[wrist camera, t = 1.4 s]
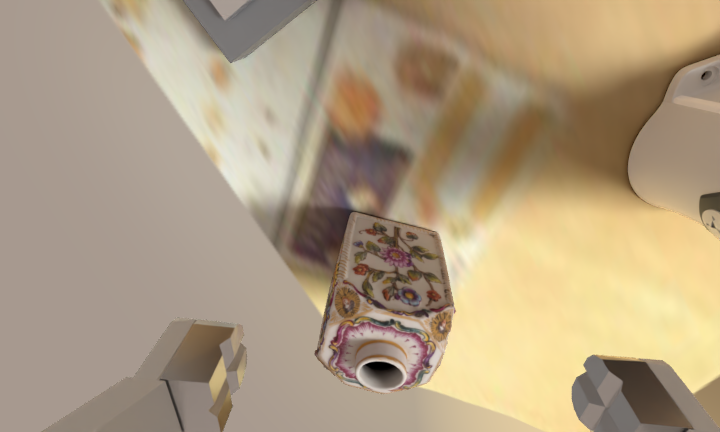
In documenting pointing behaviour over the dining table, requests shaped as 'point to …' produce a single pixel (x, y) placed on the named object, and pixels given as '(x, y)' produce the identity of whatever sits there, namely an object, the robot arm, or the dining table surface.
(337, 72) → the dining table surface
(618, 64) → the dining table surface
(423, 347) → the decorative jar
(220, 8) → the panel
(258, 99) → the dining table surface
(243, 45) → the socket
